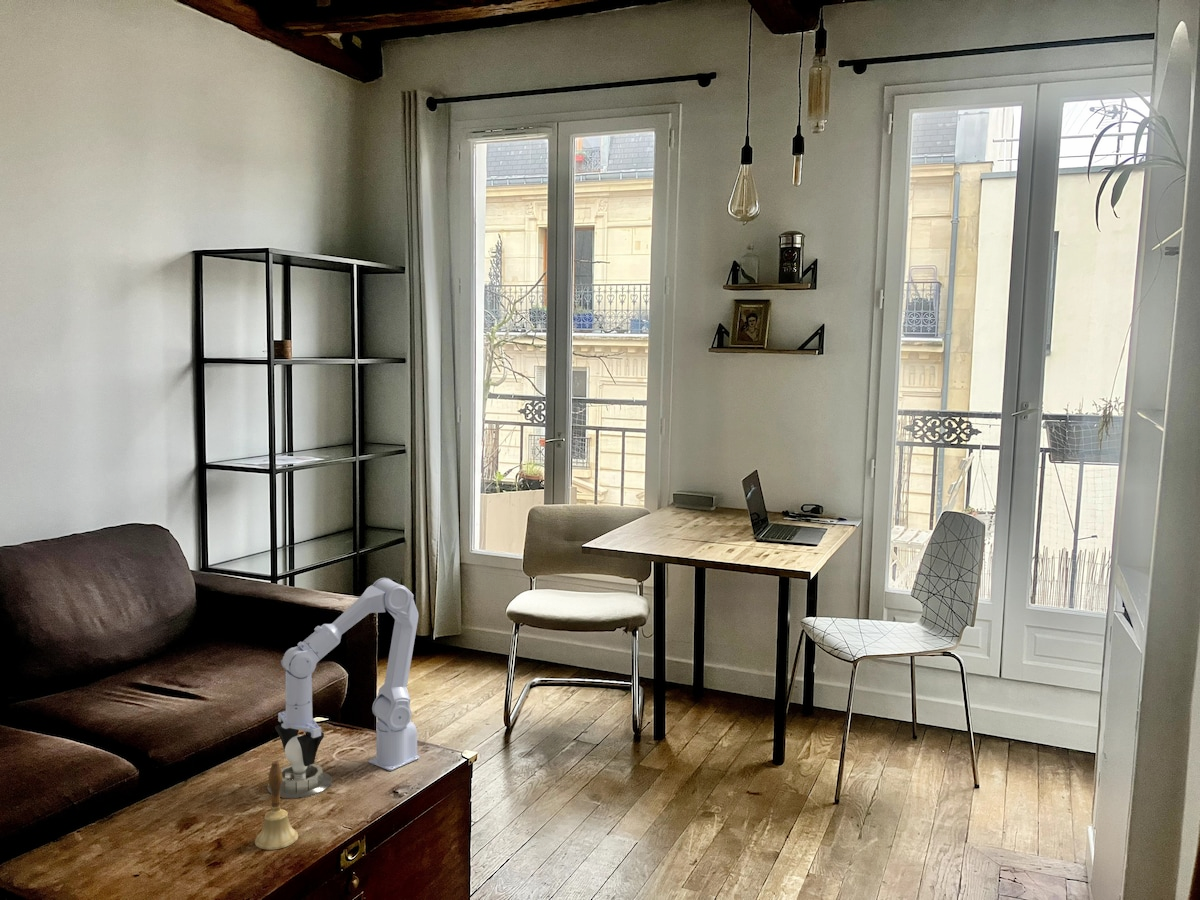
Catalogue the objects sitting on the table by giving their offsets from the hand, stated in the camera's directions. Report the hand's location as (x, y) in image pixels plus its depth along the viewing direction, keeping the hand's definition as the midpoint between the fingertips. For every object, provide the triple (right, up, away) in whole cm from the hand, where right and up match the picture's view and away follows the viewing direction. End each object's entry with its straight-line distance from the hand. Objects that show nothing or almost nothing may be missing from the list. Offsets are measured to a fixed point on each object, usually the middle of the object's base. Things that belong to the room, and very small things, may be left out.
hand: (299, 759), depth 212 cm
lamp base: (0, -6, 0) cm, 6 cm away
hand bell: (+3, -8, -24) cm, 25 cm away
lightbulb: (0, -6, +1) cm, 6 cm away
